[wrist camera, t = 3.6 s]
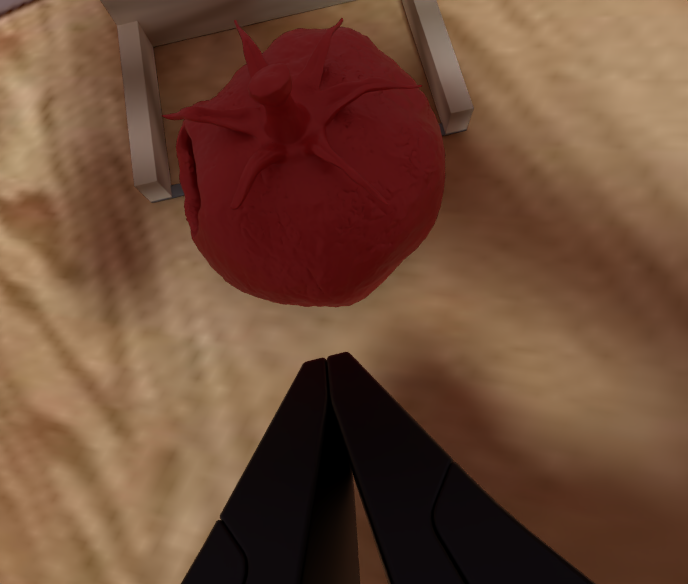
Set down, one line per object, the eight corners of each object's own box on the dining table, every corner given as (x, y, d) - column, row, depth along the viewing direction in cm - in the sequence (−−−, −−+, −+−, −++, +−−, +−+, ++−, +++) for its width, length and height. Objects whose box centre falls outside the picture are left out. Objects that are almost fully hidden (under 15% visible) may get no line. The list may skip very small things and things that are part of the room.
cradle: (466, 130, 21) (485, 74, 17) (152, 202, 21) (107, 161, 17) (411, -32, 23) (418, -109, 20) (131, 33, 23) (90, -33, 20)
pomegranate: (466, 163, 20) (544, -29, 11) (371, 362, 18) (374, 325, 9) (276, 87, 22) (210, -135, 13) (170, 264, 20) (5, 151, 11)
